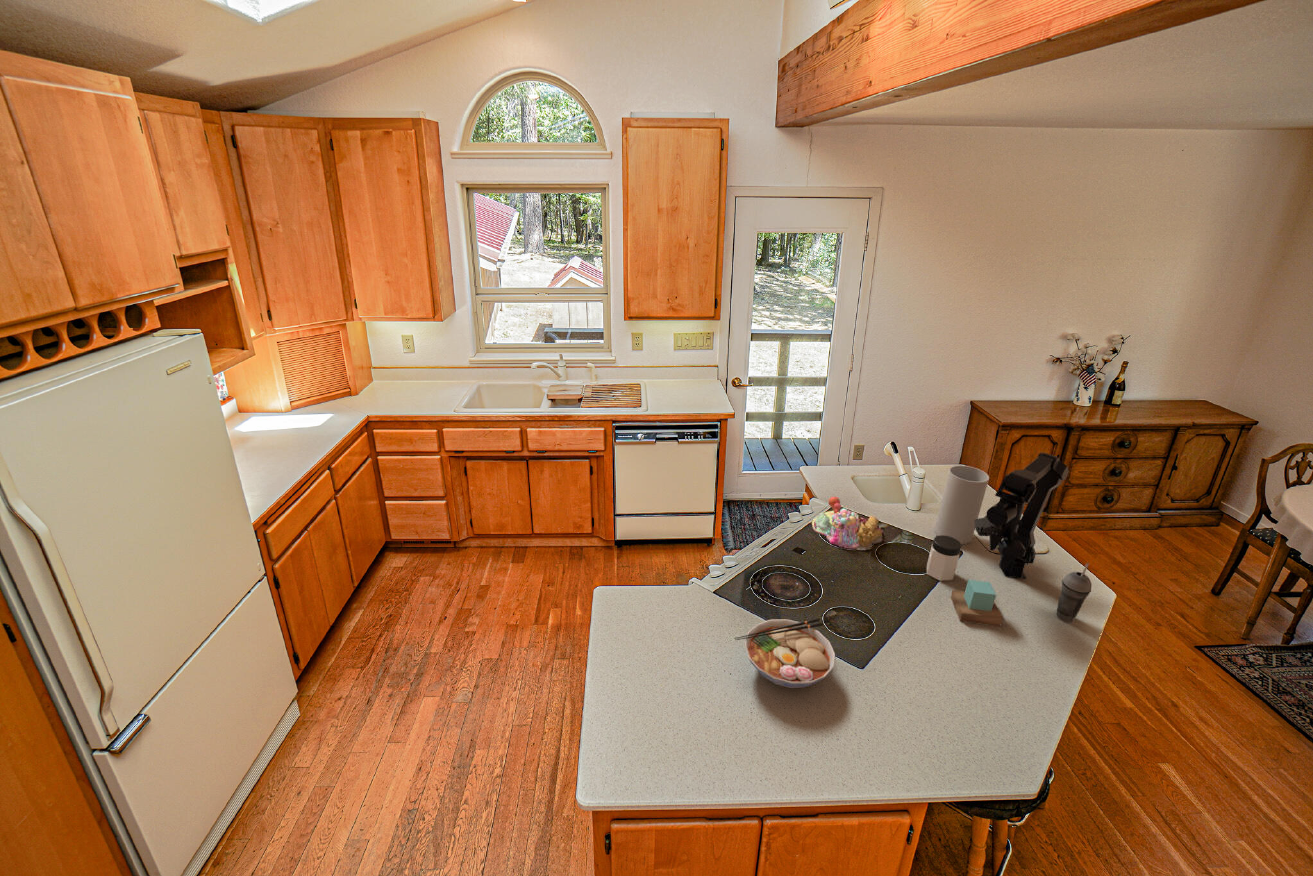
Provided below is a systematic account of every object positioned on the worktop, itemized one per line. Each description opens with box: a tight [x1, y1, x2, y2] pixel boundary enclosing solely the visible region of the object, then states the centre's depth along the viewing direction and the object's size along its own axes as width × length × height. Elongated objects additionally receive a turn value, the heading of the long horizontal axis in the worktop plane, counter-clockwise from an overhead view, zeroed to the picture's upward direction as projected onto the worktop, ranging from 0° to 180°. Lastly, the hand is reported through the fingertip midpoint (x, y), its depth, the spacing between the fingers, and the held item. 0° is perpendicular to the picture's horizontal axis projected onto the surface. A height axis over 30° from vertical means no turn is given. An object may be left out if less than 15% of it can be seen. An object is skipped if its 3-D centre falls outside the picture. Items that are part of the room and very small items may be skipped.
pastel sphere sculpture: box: [811, 496, 884, 551], centre depth 224 cm, size 25×24×9 cm
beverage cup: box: [1055, 562, 1093, 623], centre depth 182 cm, size 7×7×20 cm
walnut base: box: [950, 589, 1004, 627], centre depth 187 cm, size 11×11×3 cm
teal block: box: [964, 579, 997, 611], centre depth 185 cm, size 6×6×6 cm
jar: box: [926, 535, 962, 582], centre depth 202 cm, size 9×8×12 cm
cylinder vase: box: [933, 464, 990, 545], centre depth 221 cm, size 12×12×25 cm
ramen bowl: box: [734, 617, 836, 689], centre depth 162 cm, size 25×23×8 cm
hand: (996, 558), depth 190 cm, fingers open, 9 cm apart
